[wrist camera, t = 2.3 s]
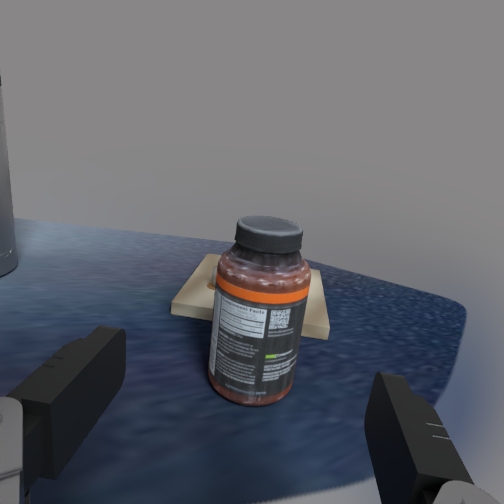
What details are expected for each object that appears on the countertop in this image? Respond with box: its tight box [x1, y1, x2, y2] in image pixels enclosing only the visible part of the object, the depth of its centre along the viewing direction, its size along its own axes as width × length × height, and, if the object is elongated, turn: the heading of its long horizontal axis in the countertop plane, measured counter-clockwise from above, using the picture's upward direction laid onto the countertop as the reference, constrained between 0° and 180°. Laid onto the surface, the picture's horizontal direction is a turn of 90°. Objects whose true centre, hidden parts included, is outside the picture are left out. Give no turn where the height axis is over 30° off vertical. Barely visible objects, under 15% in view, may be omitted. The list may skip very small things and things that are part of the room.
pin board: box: [171, 254, 330, 340], centre depth 38 cm, size 14×14×3 cm
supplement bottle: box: [208, 216, 311, 406], centre depth 23 cm, size 6×6×11 cm
